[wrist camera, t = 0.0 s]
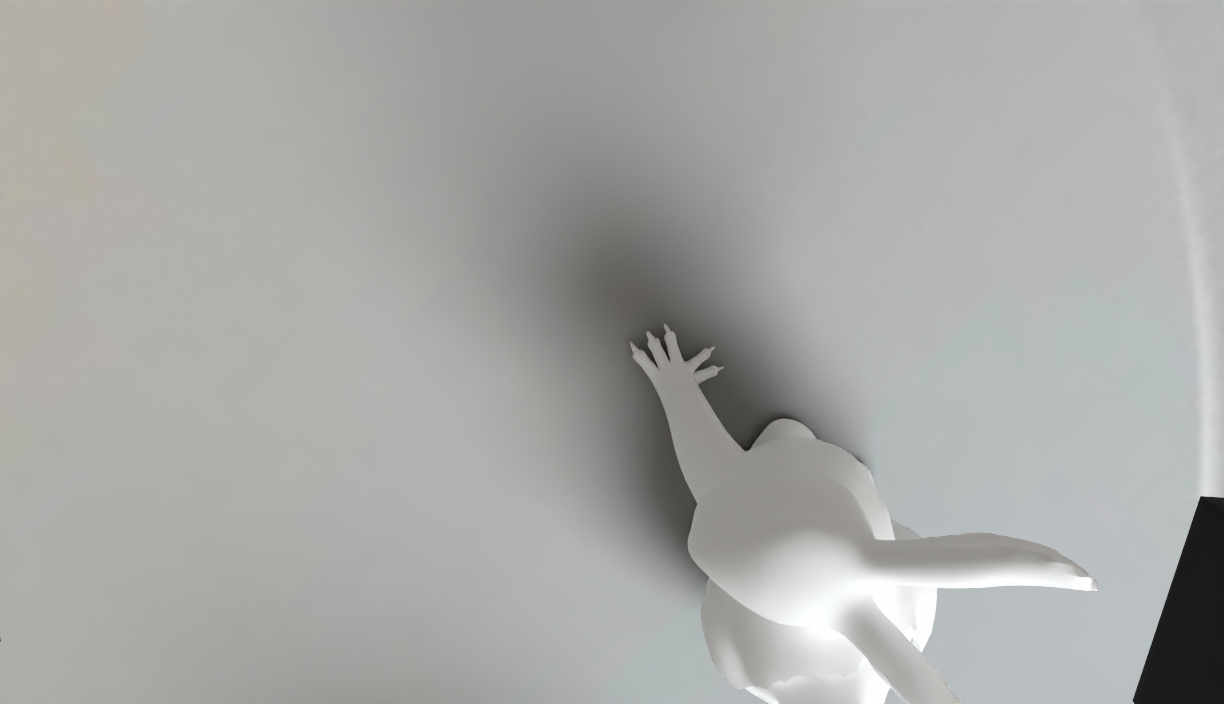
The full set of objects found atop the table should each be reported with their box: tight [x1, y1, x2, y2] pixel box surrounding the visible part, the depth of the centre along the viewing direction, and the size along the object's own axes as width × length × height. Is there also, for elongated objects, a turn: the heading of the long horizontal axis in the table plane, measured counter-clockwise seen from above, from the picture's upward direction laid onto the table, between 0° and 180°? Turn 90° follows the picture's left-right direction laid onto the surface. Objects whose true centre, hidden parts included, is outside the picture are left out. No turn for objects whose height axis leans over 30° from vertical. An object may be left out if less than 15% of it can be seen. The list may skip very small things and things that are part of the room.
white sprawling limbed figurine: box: [630, 323, 1099, 704], centre depth 22 cm, size 12×8×10 cm, turn 15°
